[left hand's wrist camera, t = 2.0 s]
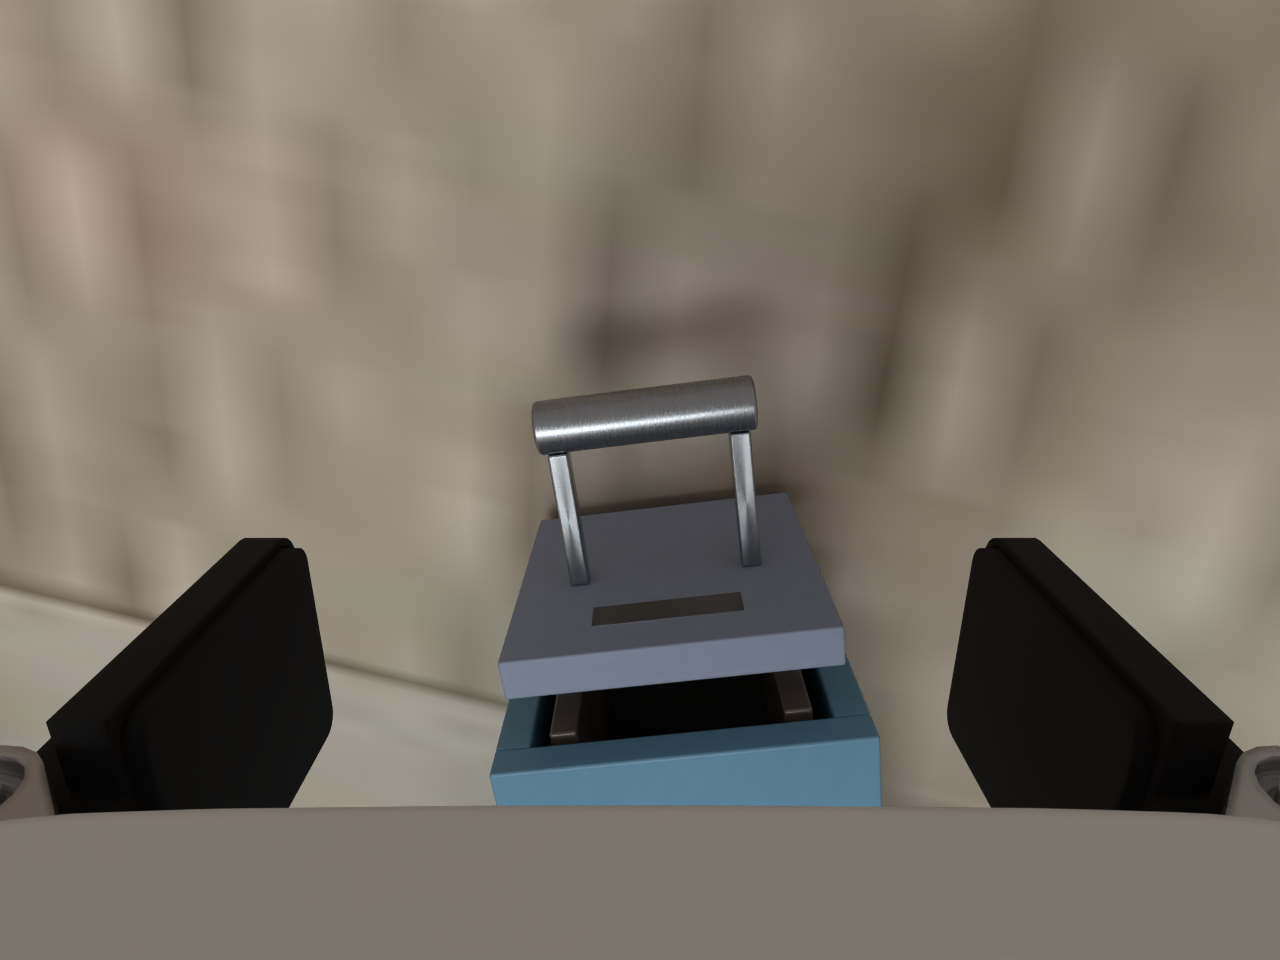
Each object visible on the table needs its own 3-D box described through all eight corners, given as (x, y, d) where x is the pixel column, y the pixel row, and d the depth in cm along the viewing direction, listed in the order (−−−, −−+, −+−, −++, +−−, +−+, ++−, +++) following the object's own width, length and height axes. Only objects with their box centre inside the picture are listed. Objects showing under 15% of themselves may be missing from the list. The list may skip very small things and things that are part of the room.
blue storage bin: (540, 574, 32) (488, 775, 21) (802, 545, 31) (880, 737, 21) (608, 919, 39) (594, 1200, 28) (824, 901, 38) (891, 1181, 28)
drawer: (511, 366, 28) (449, 457, 19) (776, 333, 27) (835, 410, 19) (608, 872, 36) (595, 1093, 28) (811, 854, 36) (863, 1073, 27)
